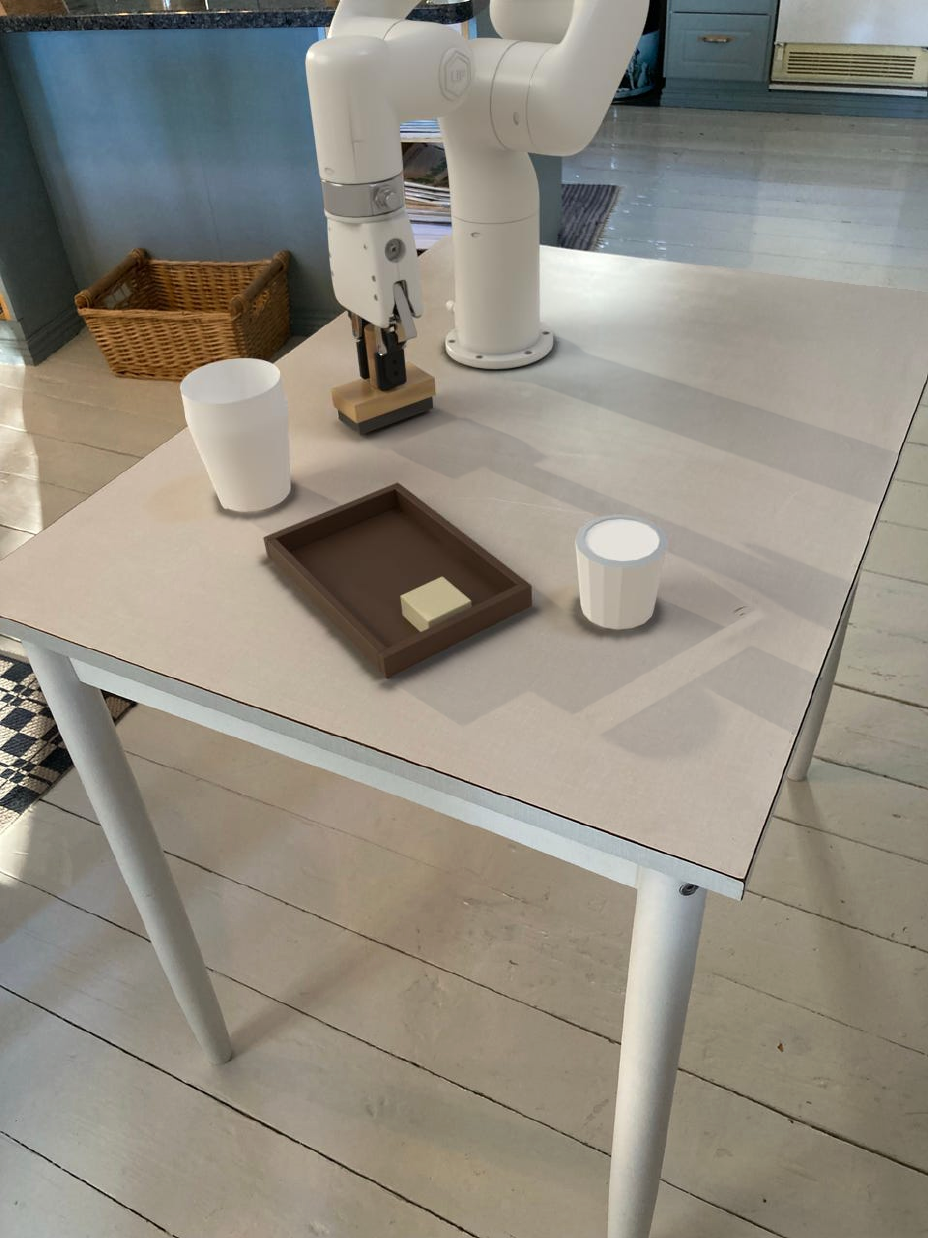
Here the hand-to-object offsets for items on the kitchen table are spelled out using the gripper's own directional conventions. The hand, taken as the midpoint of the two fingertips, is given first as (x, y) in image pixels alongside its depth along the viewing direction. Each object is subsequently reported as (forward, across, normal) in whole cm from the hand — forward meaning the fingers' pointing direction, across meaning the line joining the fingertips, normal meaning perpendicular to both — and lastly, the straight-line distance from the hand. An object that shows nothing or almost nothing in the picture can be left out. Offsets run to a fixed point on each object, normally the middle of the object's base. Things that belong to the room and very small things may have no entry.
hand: (383, 379), depth 102 cm
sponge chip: (+4, -31, +15) cm, 35 cm away
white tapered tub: (+5, -39, +3) cm, 39 cm away
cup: (+5, -5, +18) cm, 19 cm away
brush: (+4, 0, 0) cm, 4 cm away
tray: (+5, -25, +15) cm, 29 cm away
